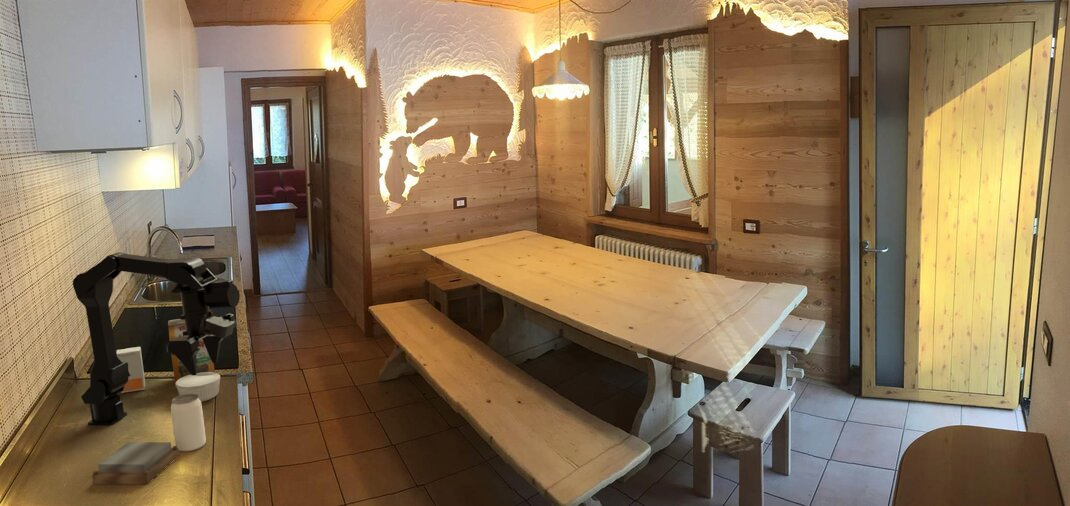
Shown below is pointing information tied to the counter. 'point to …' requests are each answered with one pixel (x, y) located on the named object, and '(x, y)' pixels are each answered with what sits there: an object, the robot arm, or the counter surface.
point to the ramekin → (199, 385)
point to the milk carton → (201, 357)
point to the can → (188, 422)
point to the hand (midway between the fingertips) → (204, 368)
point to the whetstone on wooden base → (135, 463)
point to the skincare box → (133, 368)
